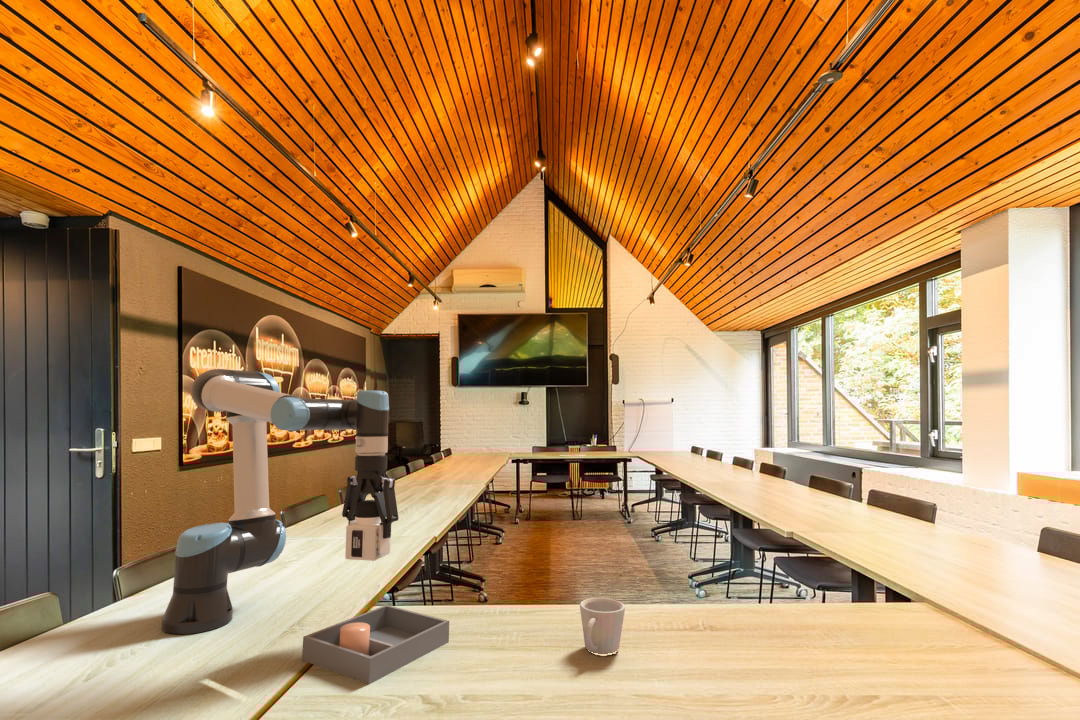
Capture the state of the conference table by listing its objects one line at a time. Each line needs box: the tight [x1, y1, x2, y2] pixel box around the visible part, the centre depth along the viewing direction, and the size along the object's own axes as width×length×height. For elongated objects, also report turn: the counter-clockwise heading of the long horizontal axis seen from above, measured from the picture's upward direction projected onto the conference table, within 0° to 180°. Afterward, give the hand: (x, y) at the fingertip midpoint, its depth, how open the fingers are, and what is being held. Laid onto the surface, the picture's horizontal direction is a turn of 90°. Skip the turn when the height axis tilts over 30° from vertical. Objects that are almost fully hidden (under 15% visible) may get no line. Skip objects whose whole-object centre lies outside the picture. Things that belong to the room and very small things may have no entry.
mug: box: [579, 597, 626, 654], centre depth 127 cm, size 10×15×10 cm
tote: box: [301, 604, 450, 685], centre depth 124 cm, size 20×24×6 cm
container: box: [344, 499, 392, 562], centre depth 134 cm, size 8×8×13 cm
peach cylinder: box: [339, 622, 370, 656], centre depth 118 cm, size 6×6×7 cm
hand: (368, 549), depth 133 cm, fingers closed on container, 9 cm apart
